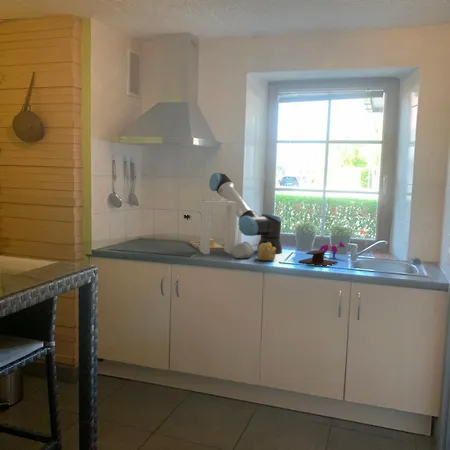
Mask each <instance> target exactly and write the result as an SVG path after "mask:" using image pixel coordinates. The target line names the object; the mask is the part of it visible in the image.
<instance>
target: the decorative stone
mask: <svg viewBox="0 0 450 450" xmlns="http://www.w3.org/2000/svg"><path fill="white" fill-rule="evenodd" d="M231 253H232V254H231V255H232V256H233V257H234V258H236V259H249V258H251V257H252V256H253V255H254V248H253V246H252V245H251V244H250V243H249V242H248V241H243V242H240V243H236V244H235V247H234V248H233V249H232V251H231Z"/></svg>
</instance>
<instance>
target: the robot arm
mask: <svg viewBox="0 0 450 450" xmlns="http://www.w3.org/2000/svg"><path fill="white" fill-rule="evenodd" d="M222 173H223V172H214V173H212V174H211V175H210V178H209V180H208V181H209V183H208V184H209V189H210V191H211V190H212V191H217V193H218V194H219V195H220V196H222V197H223V199H227V200H228V201H232V202H237V209H236V217H238V228H239V231H240V233H241V234H243V235H244V236H249V237H253V236H254V237H255V236H260V240H259V241H258V245H257V248H256V251H257V252H258V246H259V245H260V244H262V243H267V242H270V243H271V244H272V246H273V247H275V248H276V251H275V255H276V254H282V253H283V247H282V243H281V240H280V239H281V228H282V227H281V225H282V217H281V215H278V214H270V213H264V212H262V213H261V215H258V213H257V212H256V211H255V210H253V209H251V208H250V207H249V206H248V204H247V203H246V202H245V201H244V199H243V198H242V197H241V195H240V194H239V193H238V191H236V190H235V189H234V184H233V182H232V181H231V180H230V179H229V178H228V177H227V176H226V175H225V174H222ZM222 197H221V198H222ZM188 218H189V219H188ZM183 219H184V220H185V219H186V220H187V221H189V220H190V221H192V216H191V215H187V216H186V215H184V214H183Z"/></svg>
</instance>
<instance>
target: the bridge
mask: <svg viewBox="0 0 450 450" xmlns="http://www.w3.org/2000/svg"><path fill="white" fill-rule="evenodd" d="M213 206H224V207H225V220H224V221H225V222H224V223H225V225H224V238H223V239H224V241H223V243H224V244H223V247H224V250H223V252H225V253H226V254H229V255H232V253H231V251H232V249H233V248H234V247H235V246H236V244H235V243H236V224H237V215H236V209H237V202H232V201H228V200H227V199H225V198H224V197H223V198H222V197H221V198H220V200H219V199H215V198H211V201H206V200H202V205H201V211H200V212H201V213H200V214H201V219H200V234H199V241H200V250H199V252H200V253H202V254H203V255H210V254H211V253H210V252H211V250H210V238H211V230H212V229H211V227H212V226H211V225H212V220H211V215H212V207H213Z"/></svg>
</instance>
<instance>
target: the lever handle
mask: <svg viewBox="0 0 450 450" xmlns="http://www.w3.org/2000/svg"><path fill="white" fill-rule="evenodd" d="M306 255H312V257H308V258H305V259H301V260H298V263H299V264H304V263H305V265H310V264H314V265H313V266H316V265H322V266H327V265H331V266H333V265H332V264H335V263H338V262H339V261H336V260H329V259H324V258H325V257H324V256H325V254H324V251H321V250H319V249H317V250H316V249H314V250H311V251H308V252H306ZM323 255H324V256H323ZM335 265H336V264H335ZM322 266H321V267H322Z"/></svg>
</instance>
